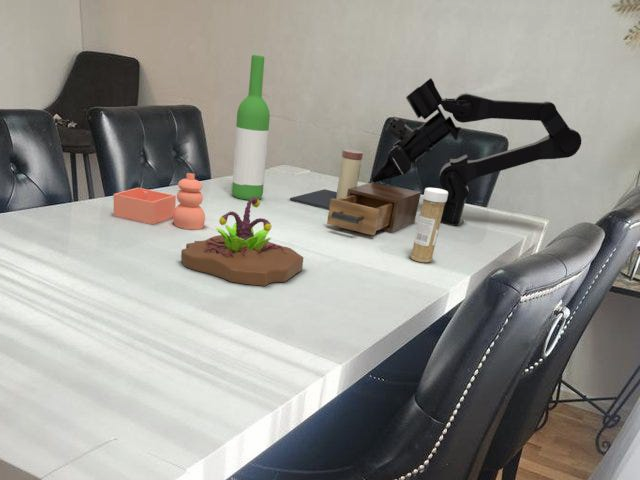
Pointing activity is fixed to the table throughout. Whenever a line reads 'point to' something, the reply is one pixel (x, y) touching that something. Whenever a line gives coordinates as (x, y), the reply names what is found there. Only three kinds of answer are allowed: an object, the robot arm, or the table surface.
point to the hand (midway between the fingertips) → (374, 177)
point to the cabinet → (400, 197)
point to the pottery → (163, 205)
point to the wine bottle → (251, 137)
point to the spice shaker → (349, 171)
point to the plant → (243, 253)
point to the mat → (316, 198)
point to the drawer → (360, 213)
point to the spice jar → (428, 224)
